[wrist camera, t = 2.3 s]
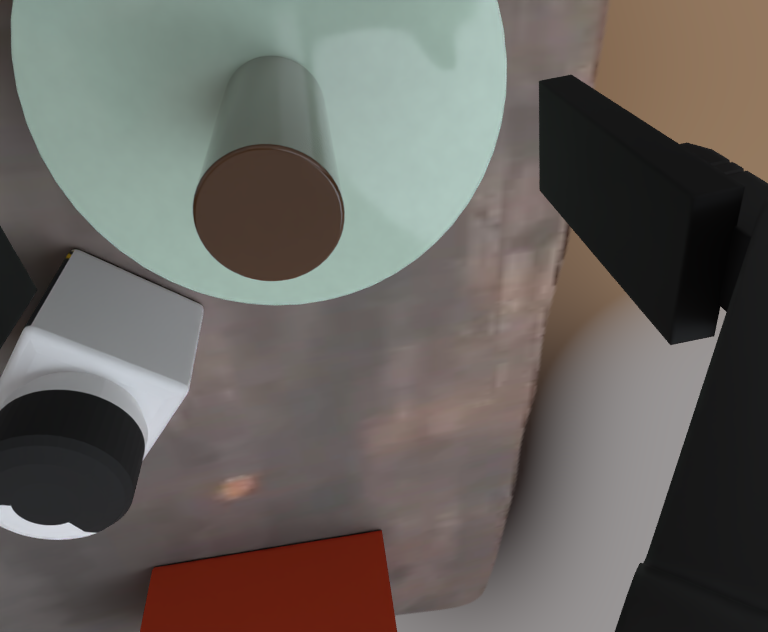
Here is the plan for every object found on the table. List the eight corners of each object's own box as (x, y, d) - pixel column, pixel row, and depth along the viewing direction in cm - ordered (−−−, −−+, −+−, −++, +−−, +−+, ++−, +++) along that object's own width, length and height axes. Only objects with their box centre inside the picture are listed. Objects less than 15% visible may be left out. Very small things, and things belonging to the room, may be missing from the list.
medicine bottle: (73, 243, 30) (-28, 412, 21) (207, 304, 33) (175, 476, 24) (25, 343, 33) (-83, 533, 23) (152, 391, 36) (103, 576, 26)
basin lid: (-100, -32, 17) (-396, 31, 10) (393, -323, 15) (498, -527, 8) (206, 343, 26) (174, 529, 18) (545, 190, 24) (665, 329, 16)
